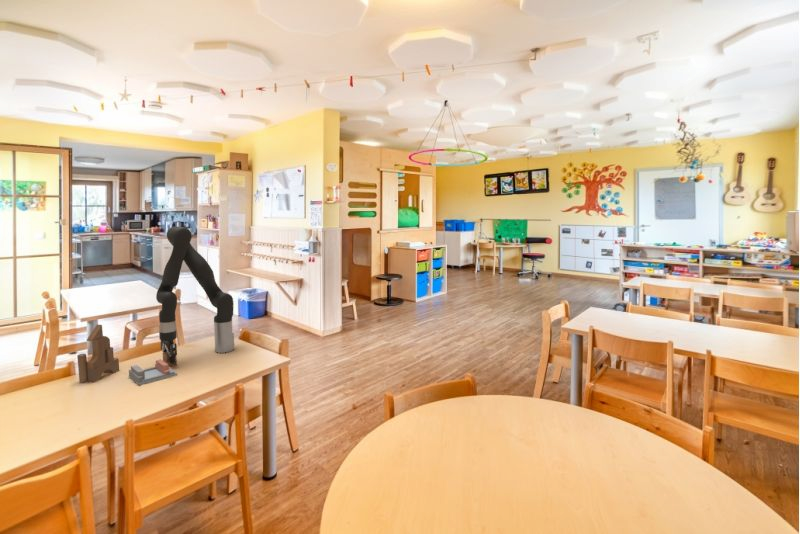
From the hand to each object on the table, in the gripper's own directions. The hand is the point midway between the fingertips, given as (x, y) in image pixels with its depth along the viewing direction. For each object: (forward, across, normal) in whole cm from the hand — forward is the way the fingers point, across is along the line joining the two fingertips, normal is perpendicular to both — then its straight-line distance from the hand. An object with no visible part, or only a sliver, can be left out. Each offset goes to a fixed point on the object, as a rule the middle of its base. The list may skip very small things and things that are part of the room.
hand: (169, 360), depth 200 cm
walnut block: (+2, 0, 0) cm, 2 cm away
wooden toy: (+3, +8, +27) cm, 28 cm away
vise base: (+2, -9, +10) cm, 14 cm away
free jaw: (+1, -9, +6) cm, 11 cm away
